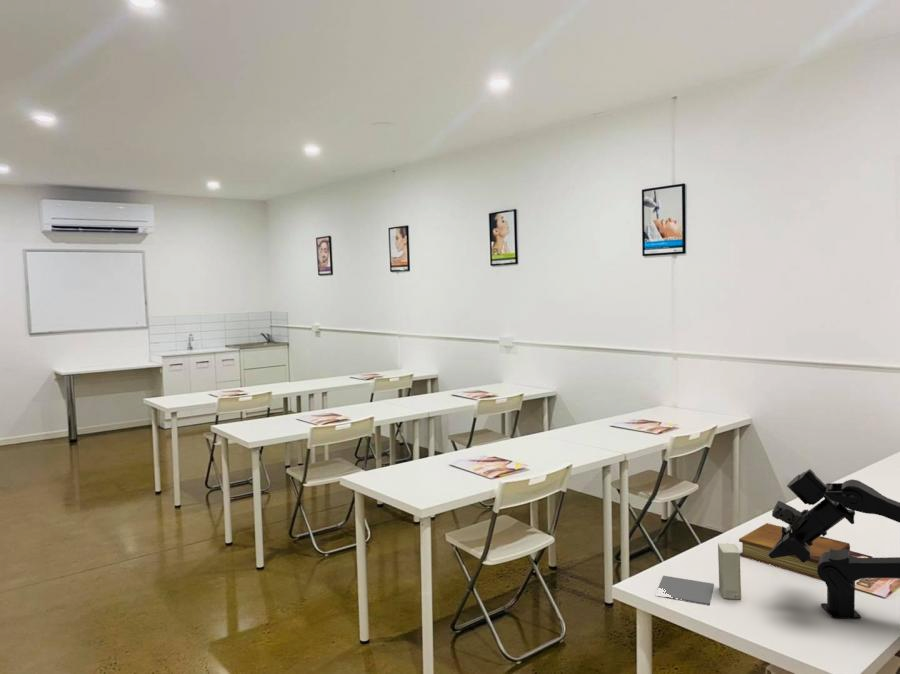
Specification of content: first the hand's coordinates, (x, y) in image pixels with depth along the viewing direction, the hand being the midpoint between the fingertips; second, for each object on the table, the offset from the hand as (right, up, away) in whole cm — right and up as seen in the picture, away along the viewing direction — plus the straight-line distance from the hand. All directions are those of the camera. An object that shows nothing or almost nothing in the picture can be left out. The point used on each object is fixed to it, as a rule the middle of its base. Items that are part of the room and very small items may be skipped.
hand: (769, 556), depth 164 cm
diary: (+19, -9, +25) cm, 33 cm away
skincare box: (-8, -11, +5) cm, 15 cm away
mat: (-19, -11, +8) cm, 23 cm away
